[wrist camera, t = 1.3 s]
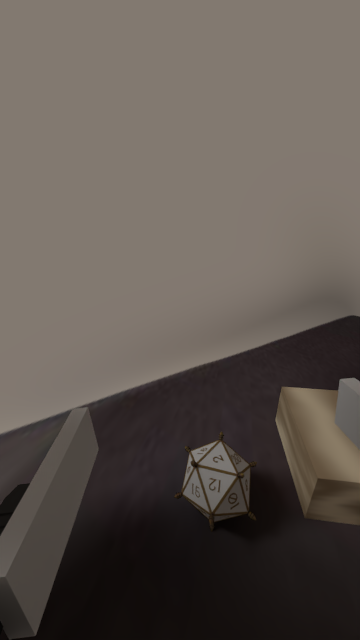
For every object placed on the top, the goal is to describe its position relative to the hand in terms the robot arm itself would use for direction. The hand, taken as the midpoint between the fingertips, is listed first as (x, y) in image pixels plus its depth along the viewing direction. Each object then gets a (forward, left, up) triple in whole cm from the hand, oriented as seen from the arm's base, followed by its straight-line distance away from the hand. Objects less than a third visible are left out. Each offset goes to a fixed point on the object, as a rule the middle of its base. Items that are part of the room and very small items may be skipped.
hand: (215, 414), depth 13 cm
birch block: (+18, +14, -22) cm, 31 cm away
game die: (+1, +8, -21) cm, 23 cm away
